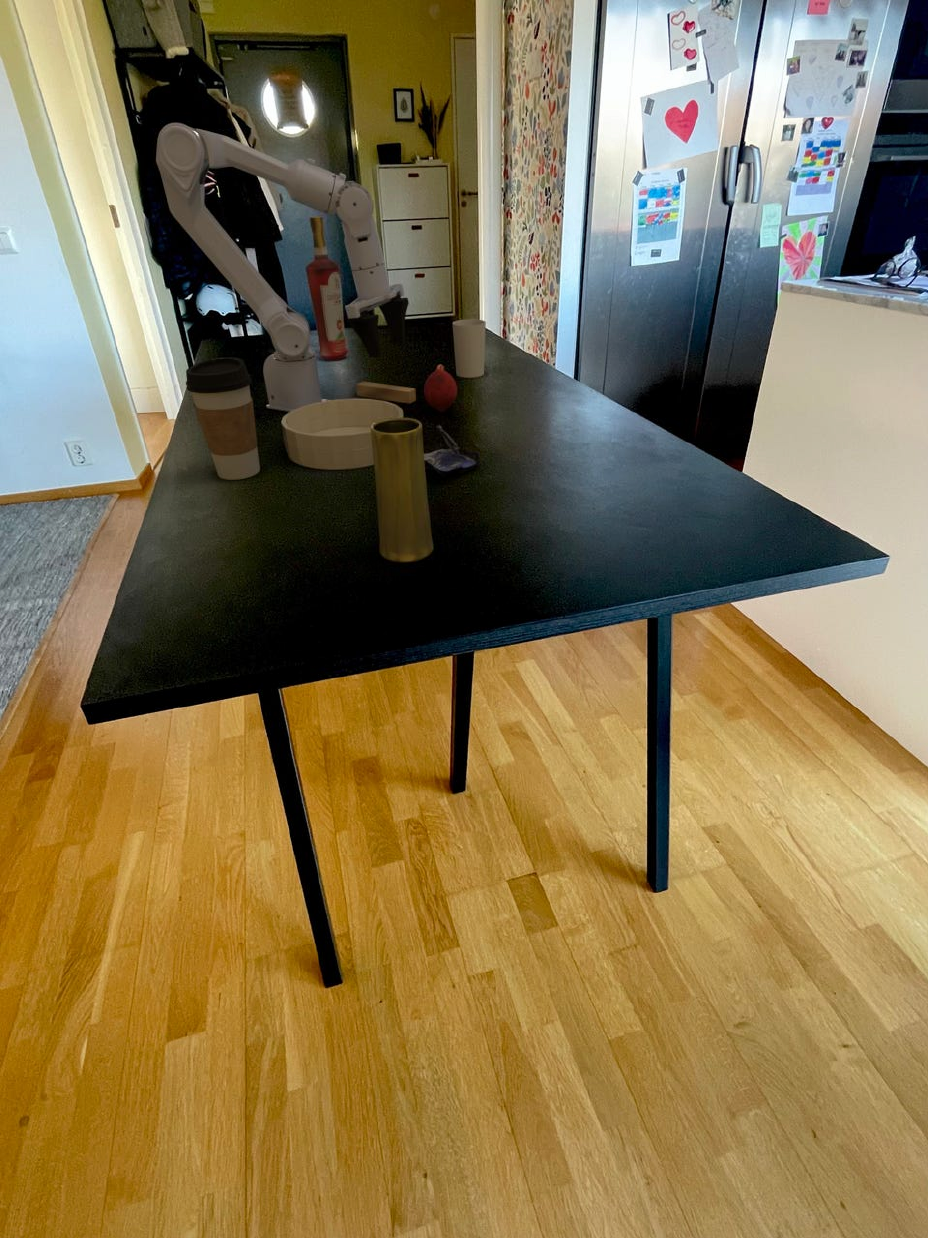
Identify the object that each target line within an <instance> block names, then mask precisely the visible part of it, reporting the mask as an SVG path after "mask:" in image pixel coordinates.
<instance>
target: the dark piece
mask: <svg viewBox="0 0 928 1238" xmlns="http://www.w3.org/2000/svg"><path fill="white" fill-rule="evenodd" d="M430 428H433V426H430ZM435 428H436V430H437V432H439V434H442V438H443V440H444V441H445V443H446V445H447V446H448V447H449V448H448V449H445V448H444V449H443V448H441V449H438V450H434V451H432V452H429V453H424V463H425V470H429V471H430V470H433V471H435V472H436V474H439V475H440V477H442V478H444V477H445V476H447V474H449V473H451V472H452V471H455V470H457V471H458V472H459V474H460V475H462V474H464V473H465V472H468V471H469V472H470V471H471V470H473V469H474V468H475V467H476V466H477V465H479V464H481V460H480V456H479V453H478V452H475V451H473V452H470V451H468V450H466V449H462V448H461V447H460V446H459V445H458V443H457V442H455V441H454V439H453V438H452V437H451V436H450V434H448V433H447V432H446V431H445V430H444V429H443V428H442V426H441V425H440V423H438V424H437V425H436V426H435ZM453 477H454V478H455V477H456V475H455V476H453ZM443 482H444V480H441V483H443Z"/></svg>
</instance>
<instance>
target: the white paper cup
mask: <svg viewBox="0 0 928 1238" xmlns="http://www.w3.org/2000/svg"><path fill="white" fill-rule="evenodd" d="M486 325H487V321H486V320H483V319H473V318H472V319H470V318H469V319H460V320H458V319H457V320H455V321H453V322H452V333H453V347H454V360H455V361H454V362H455V373H456V374H455V375H456V376H457V377H459V378H466V379H467V378H469V379H470V378H471V379H473V378H479V377H482V376H484V375H485V360H486V359H485V356H486V327H487V326H486Z"/></svg>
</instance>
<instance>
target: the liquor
mask: <svg viewBox="0 0 928 1238" xmlns="http://www.w3.org/2000/svg"><path fill="white" fill-rule="evenodd" d="M309 222H310V228H311V232H312V240H313V257H314V259H313V260H312V261H310V262H308V264H307V265H306V266H305V274H306V278H307V285H308V290H309V295H310V300H311V305H312V311H313V315H314V321H315V326H316V327H315V328H316V332H317V339H318V340H317V341H318V345H319V351H318V355H319V356H321V357H322V358H323V359H324V360H326V361H339V360H343V359H344V358H345V357H346V356H347V354H348V353H349V349H348V348H347V342H346V332H345V321H344V320H345V319H344V309H343V307H344V305H343V289H342V277H341V266H340V264H338V263H337V262H336V261H334V260H332V259H330V258H329V254H328V248H327V245H326V239H325V235H324V232H325V231H324V229H325V225H324V216H310V217H309Z"/></svg>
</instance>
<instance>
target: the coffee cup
mask: <svg viewBox="0 0 928 1238" xmlns="http://www.w3.org/2000/svg"><path fill="white" fill-rule="evenodd" d="M185 377H186V381H185V386H186V390H187V391H188V392H190V393H191V397H192V400H193V402H194V403H193V408H194V410H195V413H196V417H197V418H198V422H199V425H200V427H201V430H202V433H203V436H204V439H205V442H206V444H207V447H208V450H209V452H210V455H211V458H212V461H213V464H214V467H215V470H216V473H217V476H218V477H219V478H220V479H222V480H228V481H232V480H233V481H236V480H244V479H248V478H252V477H254V476H256V475H257V474H259V473H260V471H261V465H260V458H259V450H258V440H257V439H258V438H257V430H256V419H255V409H254V400H253V397H252V396H251V389H250V385H252V382H253V381H252V379H251V375H250V373H248V369H247V366H246V363H245V361H244V359H242V358H238V357H233V356H232V357H231V356H230V357H229V356H227V357H214V358H210V359H205V360H203V361H200V362H197V363H196V364H194V365H193V364H192V365H191V366H189V367H188V368H187V369H186V370H185Z"/></svg>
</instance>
